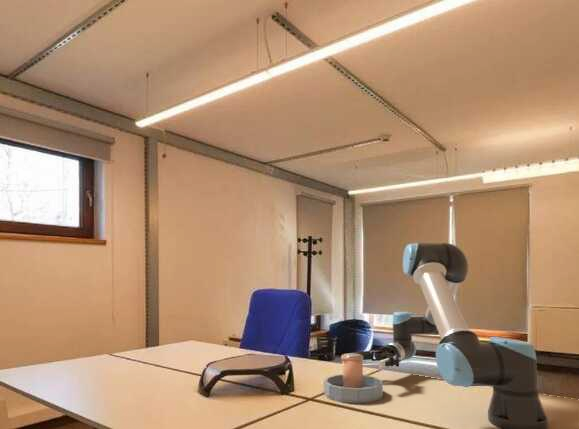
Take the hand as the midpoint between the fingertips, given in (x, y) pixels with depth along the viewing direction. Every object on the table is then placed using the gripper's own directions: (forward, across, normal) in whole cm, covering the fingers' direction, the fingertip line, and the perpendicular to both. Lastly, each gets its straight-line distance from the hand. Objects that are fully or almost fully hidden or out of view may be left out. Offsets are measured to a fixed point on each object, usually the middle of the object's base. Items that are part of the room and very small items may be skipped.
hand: (362, 362), depth 156 cm
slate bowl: (+7, 0, -10) cm, 12 cm away
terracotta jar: (+7, 0, -9) cm, 11 cm away
